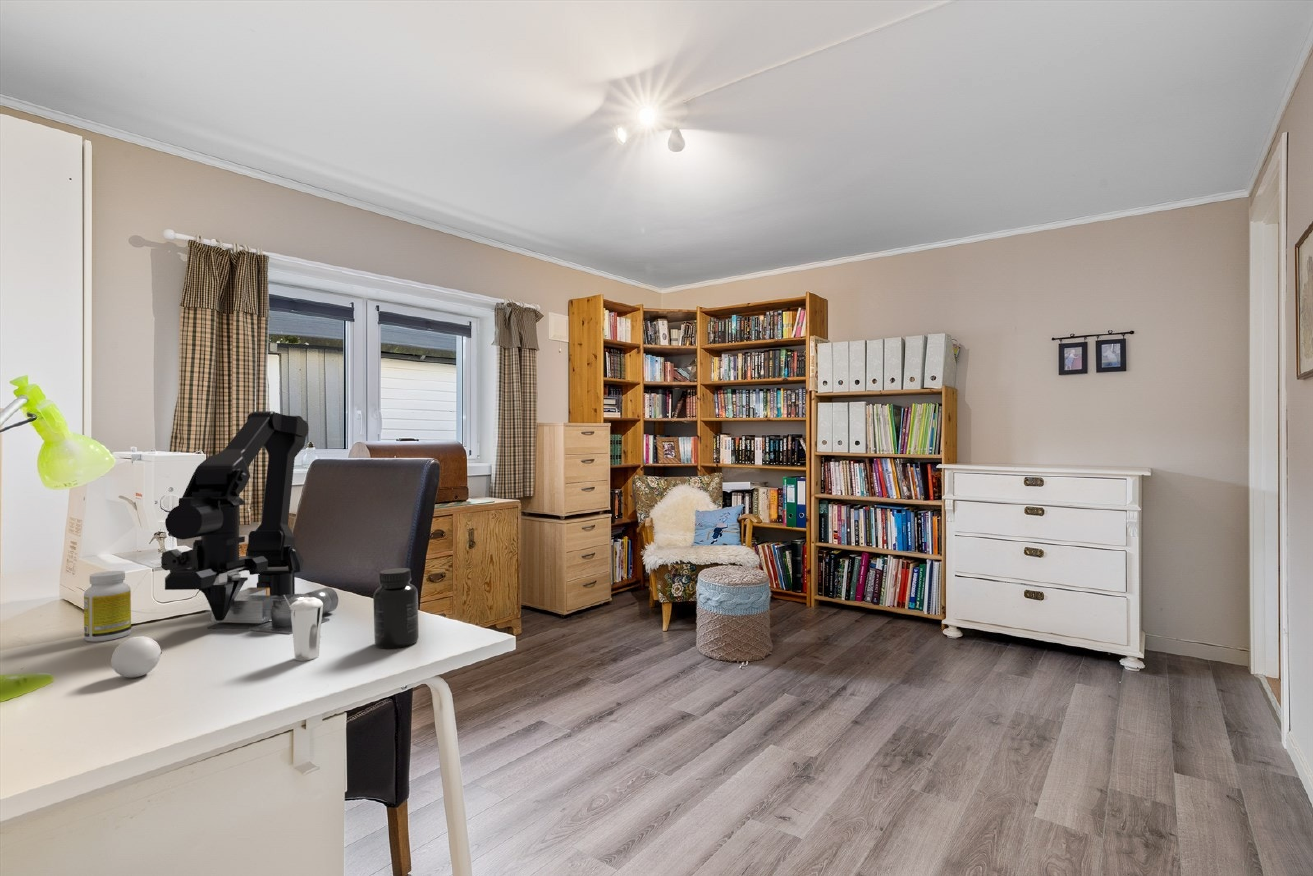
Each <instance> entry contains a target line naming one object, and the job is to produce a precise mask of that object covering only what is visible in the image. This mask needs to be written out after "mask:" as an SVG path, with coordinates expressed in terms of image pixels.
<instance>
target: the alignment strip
mask: <svg viewBox="0 0 1313 876" xmlns="http://www.w3.org/2000/svg"><path fill="white" fill-rule="evenodd" d="M268 622H271V620H269V621H267V622H264V623H232V622H215V623H214V624H212V625H209V626H207V629H250V628H253V627H256V626H259V625H262V624H265V623H268Z"/></svg>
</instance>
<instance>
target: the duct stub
mask: <svg viewBox="0 0 1313 876" xmlns="http://www.w3.org/2000/svg"><path fill="white" fill-rule="evenodd" d="M338 596H339V595H338V593H337V592H336V589H334V588H332V587H327V586H326V587H323V588H320V589H317V590H312V591H309V592H306V593H295V594H289V595H285V597H286V599H287V600H288V602H289V604H290V606H291V604H292V603H294V602H295V601H297V600H300V599H304V598H306V597H315V598H317V599H320V600H321V601H322V602H323V611H322V616H323V615H325V614H328V613H331V612H334V611H335V610H337V607H338V605H339V597H338ZM285 597H284V595H282V596H278V597H275V598H273V599H271V620H270V621H271V622H268V623H265V624H262V625H259V626H256V627H253V628H249V631H252V632H253V631H254V632H255V631H256V632H263V633H264V632H265V633H266V632H267V633H274V634H275V633H276V634H285V635H293V631H292V623H291V614H290V607H289V605H288V603H287V601H286V599H285ZM330 620H331V619H330V618H328V617H326V618H325V617H322V620H321V624H323V623H325V622H328V621H330Z"/></svg>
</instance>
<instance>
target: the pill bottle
mask: <svg viewBox="0 0 1313 876" xmlns="http://www.w3.org/2000/svg"><path fill="white" fill-rule="evenodd" d="M125 579H126V572H125V570H108V571H101V572H95V573H92V574H90V575H89V584H91V586H90V587H88V588H87V589H85V591H84V594H83V631H84V632H83V633H84V640H85V641H87V642H91V643H92V642H93V643H98V642H106V641H107V642H108V641H113V640H116V639H117V640H118V639H120V638H125V637H126V636H128V635H129V634H130V633H131V632H132V600H131V598H132V597H131V596H132V594H131V593H132V592H131V591H132V590H131V587H130V585H129V584H127V583H125V582H124V580H125Z"/></svg>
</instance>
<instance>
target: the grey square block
mask: <svg viewBox="0 0 1313 876" xmlns="http://www.w3.org/2000/svg"><path fill="white" fill-rule="evenodd" d="M275 597H278V596H270V588H257V586H256V587H254V586H253V587H247V588H246V589H243V590H242V589H241V590H240V591H239V592H238V594H237V596H236V598H235V600H234V601H233V603H232V605H231V607H230V609H229V611H228V613H227V615H226V617H225V619H224V620H222V621H216V620H215V617H214V615H213V612H212V610H211V613H210V614H211V615H210V616H211V623H219V622H232V623H264V622H267V621H271V599H273V598H275Z"/></svg>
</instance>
